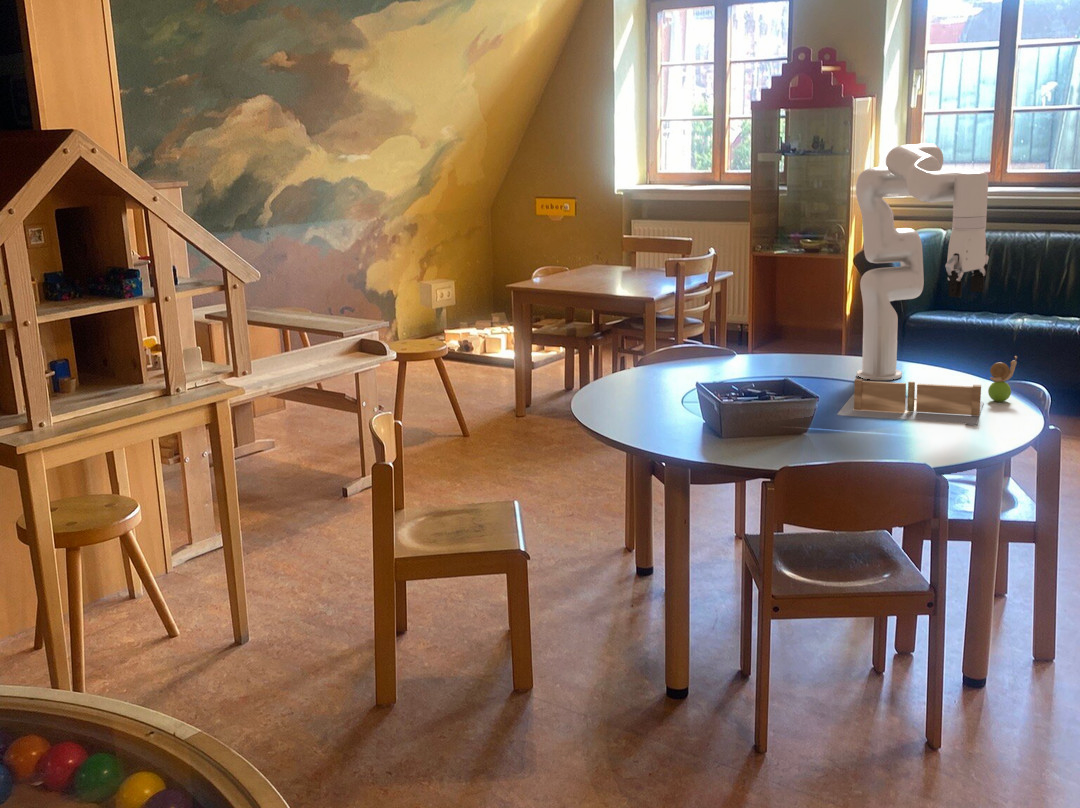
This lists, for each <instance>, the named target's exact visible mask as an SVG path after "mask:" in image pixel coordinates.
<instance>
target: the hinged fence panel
mask: <svg viewBox="0 0 1080 808" xmlns="http://www.w3.org/2000/svg"><path fill="white" fill-rule="evenodd" d="M907 383H908V385H907V398H908V406H907V411H910V412H913V411H914V398H917V403H916V412H929V413H945V414H961V415H972V416H979V415H980V416H981V413H980V402H982V401H981V398H982V397H981V395H982V384H972V386H971V385H952V384H932V383H931V384H930V383H917V384H916V382H915V381H907ZM915 392H916V395H915ZM915 396H916V397H915ZM980 416H979V417H980Z"/></svg>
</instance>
